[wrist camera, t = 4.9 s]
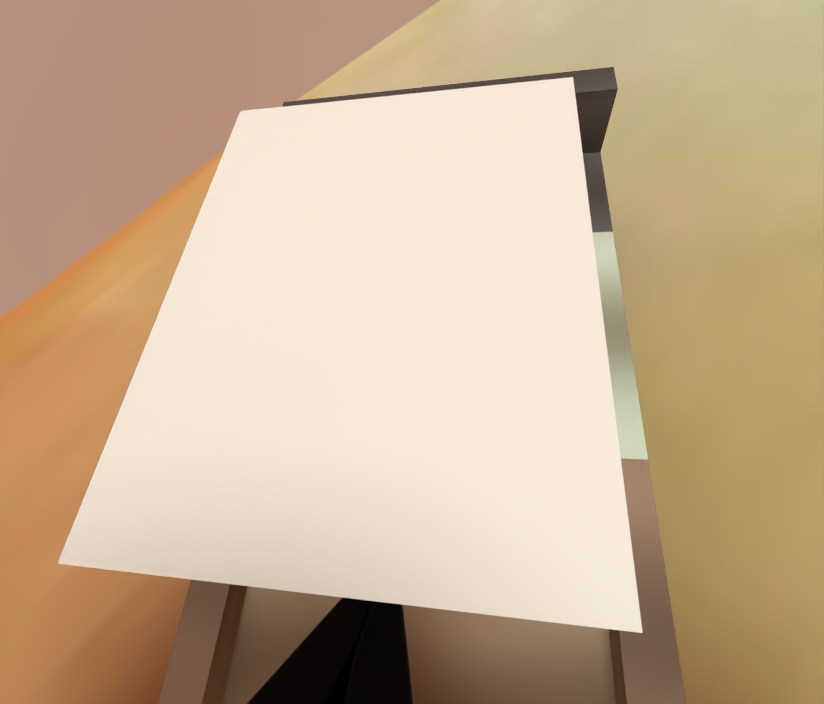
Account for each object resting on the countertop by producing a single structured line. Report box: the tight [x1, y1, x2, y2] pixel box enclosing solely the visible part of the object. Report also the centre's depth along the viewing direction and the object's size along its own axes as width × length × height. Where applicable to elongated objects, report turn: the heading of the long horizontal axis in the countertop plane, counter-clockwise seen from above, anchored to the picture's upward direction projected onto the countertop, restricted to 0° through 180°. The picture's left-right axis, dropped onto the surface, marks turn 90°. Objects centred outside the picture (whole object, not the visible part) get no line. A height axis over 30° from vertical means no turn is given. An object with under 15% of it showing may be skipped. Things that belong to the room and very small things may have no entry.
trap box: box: [157, 67, 686, 704], centre depth 13 cm, size 24×12×6 cm, turn 176°
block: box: [58, 77, 643, 633], centre depth 10 cm, size 9×7×8 cm
